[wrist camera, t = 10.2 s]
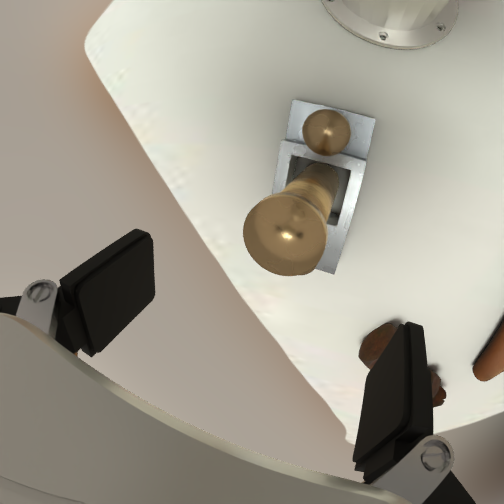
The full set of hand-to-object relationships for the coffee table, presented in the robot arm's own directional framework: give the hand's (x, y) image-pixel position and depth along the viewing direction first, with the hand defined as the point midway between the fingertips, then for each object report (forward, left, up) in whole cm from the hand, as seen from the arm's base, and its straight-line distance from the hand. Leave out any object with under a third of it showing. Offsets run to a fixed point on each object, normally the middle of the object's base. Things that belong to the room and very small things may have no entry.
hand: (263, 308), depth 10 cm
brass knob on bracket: (0, -1, -19) cm, 19 cm away
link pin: (0, -1, -19) cm, 19 cm away
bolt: (+18, +16, -19) cm, 31 cm away
